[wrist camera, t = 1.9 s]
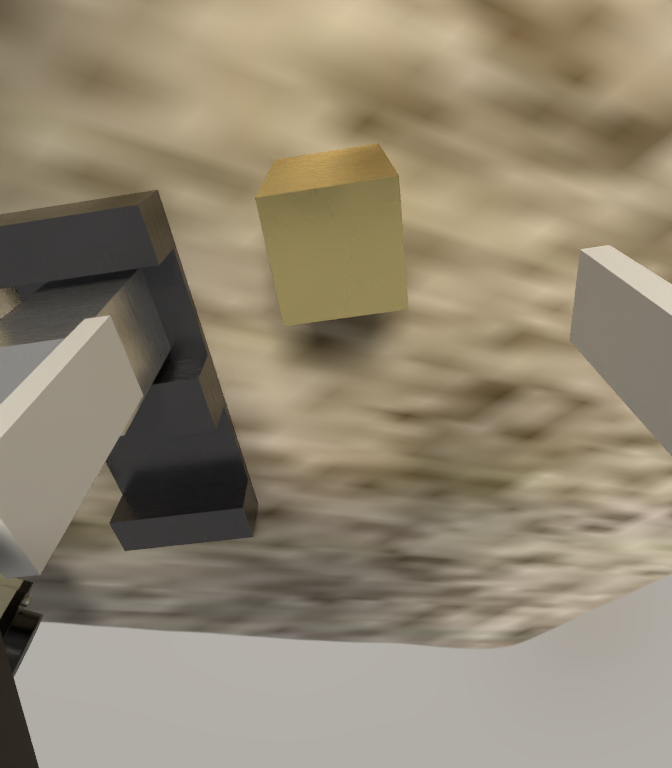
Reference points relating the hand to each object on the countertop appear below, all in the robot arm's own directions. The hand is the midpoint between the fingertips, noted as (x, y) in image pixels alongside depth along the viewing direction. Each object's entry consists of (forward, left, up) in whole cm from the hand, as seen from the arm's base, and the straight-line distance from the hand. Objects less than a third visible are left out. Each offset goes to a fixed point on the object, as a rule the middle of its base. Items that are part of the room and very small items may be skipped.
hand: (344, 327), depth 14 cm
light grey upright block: (+4, -13, -13) cm, 19 cm away
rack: (+9, -13, -13) cm, 21 cm away
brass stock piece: (0, 0, -13) cm, 13 cm away
